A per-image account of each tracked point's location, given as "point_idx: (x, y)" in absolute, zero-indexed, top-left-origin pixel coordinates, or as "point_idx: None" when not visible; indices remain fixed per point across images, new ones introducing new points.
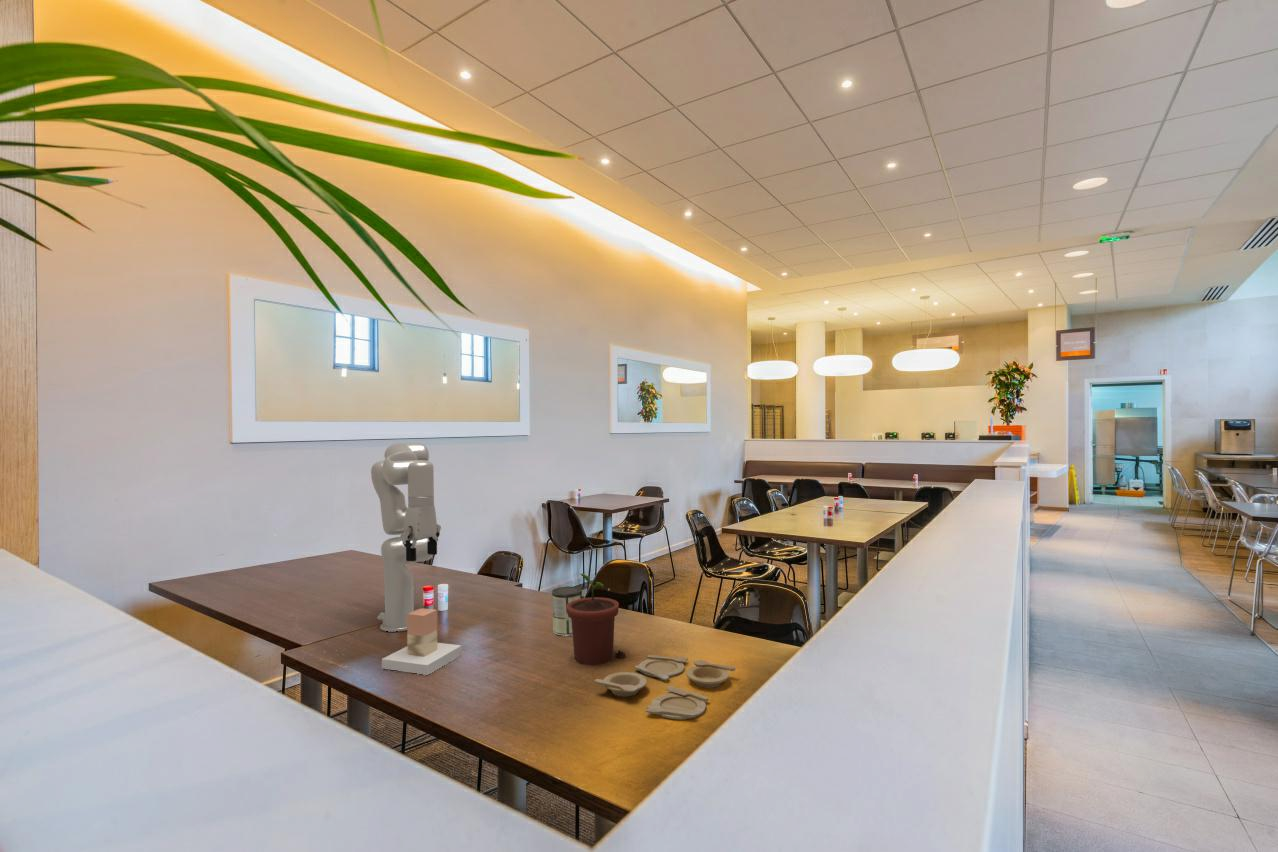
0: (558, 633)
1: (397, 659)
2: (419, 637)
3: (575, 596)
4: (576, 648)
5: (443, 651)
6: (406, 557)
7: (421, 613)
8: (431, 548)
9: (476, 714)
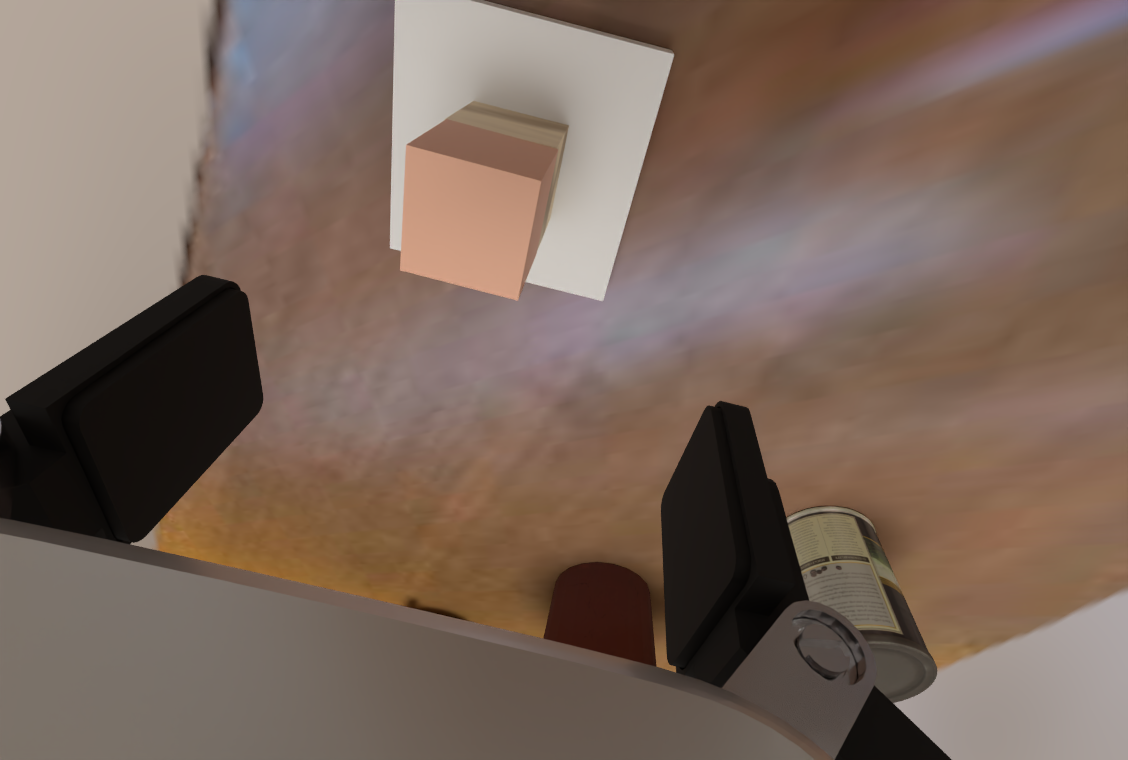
0: None
1: (409, 80)
2: None
3: None
4: (563, 598)
5: None
6: (171, 301)
7: (437, 237)
8: (686, 527)
9: (249, 435)
